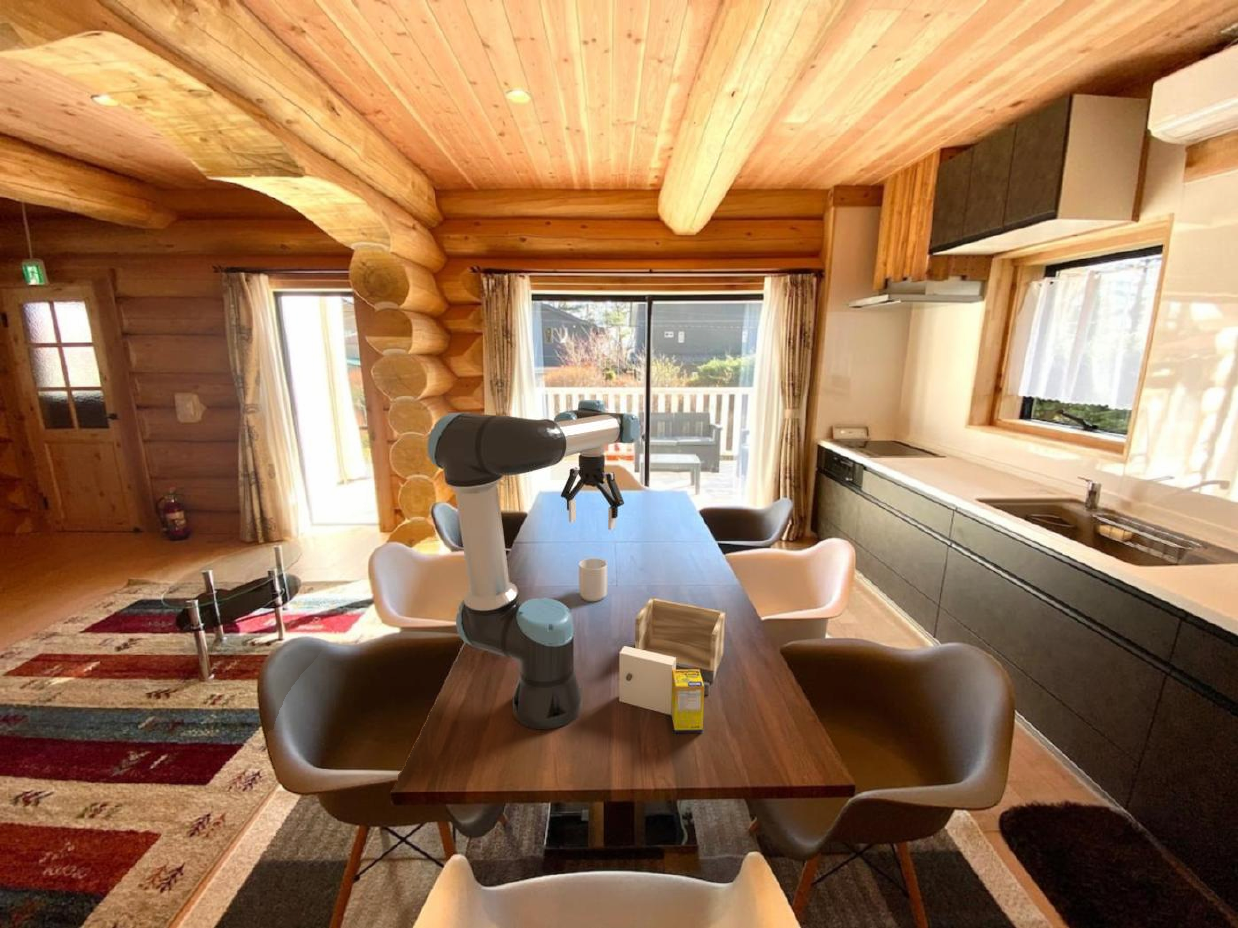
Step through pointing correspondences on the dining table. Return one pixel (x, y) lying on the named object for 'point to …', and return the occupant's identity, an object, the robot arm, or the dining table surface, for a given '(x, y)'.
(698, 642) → the carcass
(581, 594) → the mug
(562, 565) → the dining table surface
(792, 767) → the dining table surface
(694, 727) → the supplement box
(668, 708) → the door
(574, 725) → the dining table surface
